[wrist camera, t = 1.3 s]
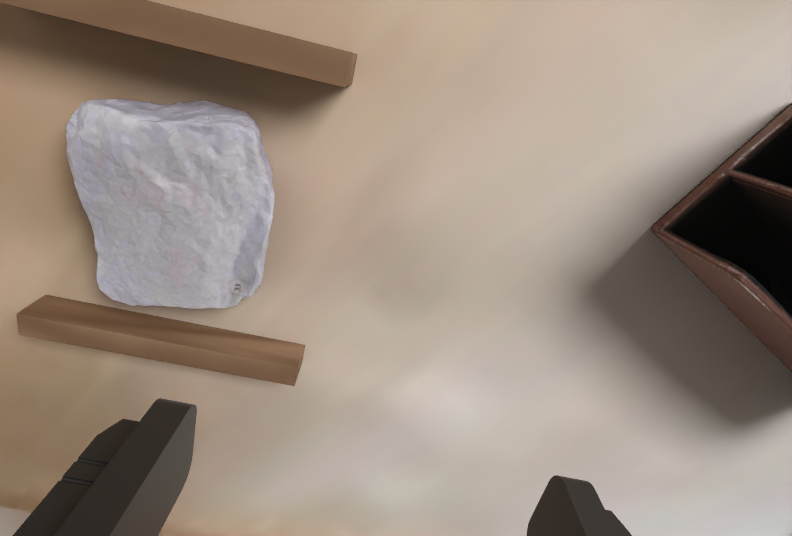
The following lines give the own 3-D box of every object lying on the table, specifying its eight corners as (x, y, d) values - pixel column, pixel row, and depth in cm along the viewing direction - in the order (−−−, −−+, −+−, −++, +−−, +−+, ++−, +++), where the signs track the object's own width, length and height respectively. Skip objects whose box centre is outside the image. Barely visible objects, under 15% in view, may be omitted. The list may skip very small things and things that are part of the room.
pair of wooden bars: (18, -32, 23) (-56, -52, 19) (357, 54, 24) (350, 52, 20) (47, 314, 30) (-1, 348, 27) (301, 363, 32) (289, 401, 28)
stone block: (272, 99, 27) (81, 91, 25) (268, 110, 23) (38, 102, 21) (282, 279, 32) (124, 285, 30) (280, 315, 28) (97, 325, 26)
